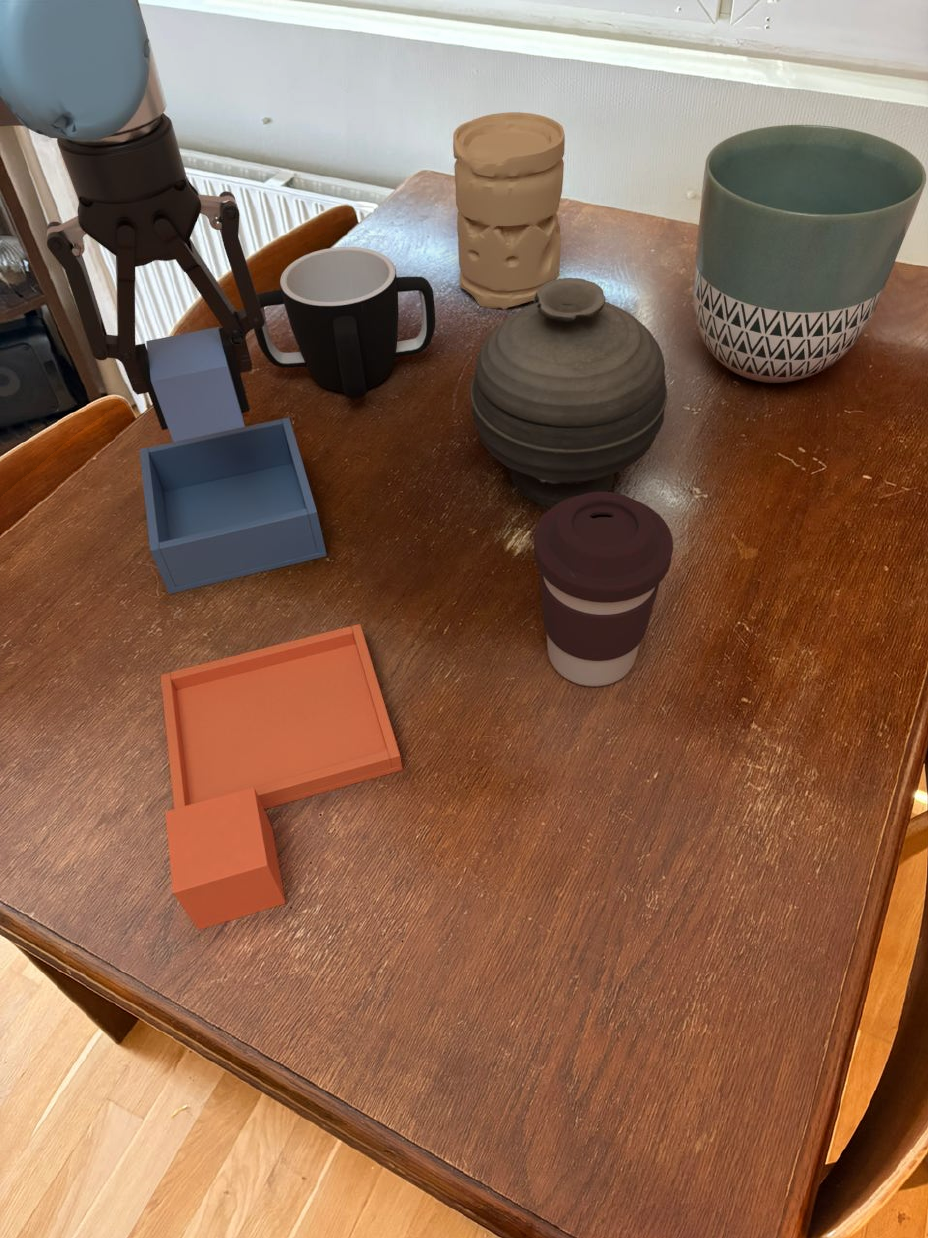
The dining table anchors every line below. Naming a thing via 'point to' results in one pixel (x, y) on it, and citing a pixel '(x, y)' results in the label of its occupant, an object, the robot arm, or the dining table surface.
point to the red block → (223, 858)
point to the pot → (568, 392)
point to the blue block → (194, 384)
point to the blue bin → (229, 505)
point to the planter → (798, 244)
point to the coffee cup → (599, 582)
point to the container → (508, 205)
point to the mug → (345, 317)
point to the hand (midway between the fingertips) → (204, 411)
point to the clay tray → (279, 721)
